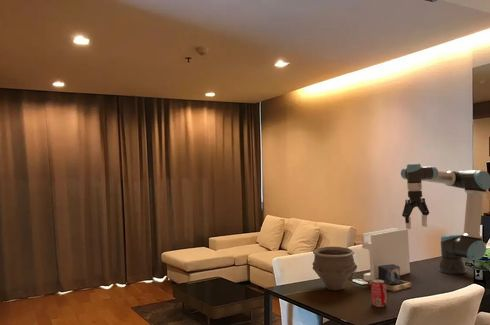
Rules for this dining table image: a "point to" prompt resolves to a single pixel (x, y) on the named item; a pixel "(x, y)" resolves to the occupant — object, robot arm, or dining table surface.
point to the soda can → (378, 293)
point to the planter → (334, 266)
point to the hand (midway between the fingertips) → (416, 227)
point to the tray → (396, 287)
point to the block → (387, 250)
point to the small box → (389, 274)
